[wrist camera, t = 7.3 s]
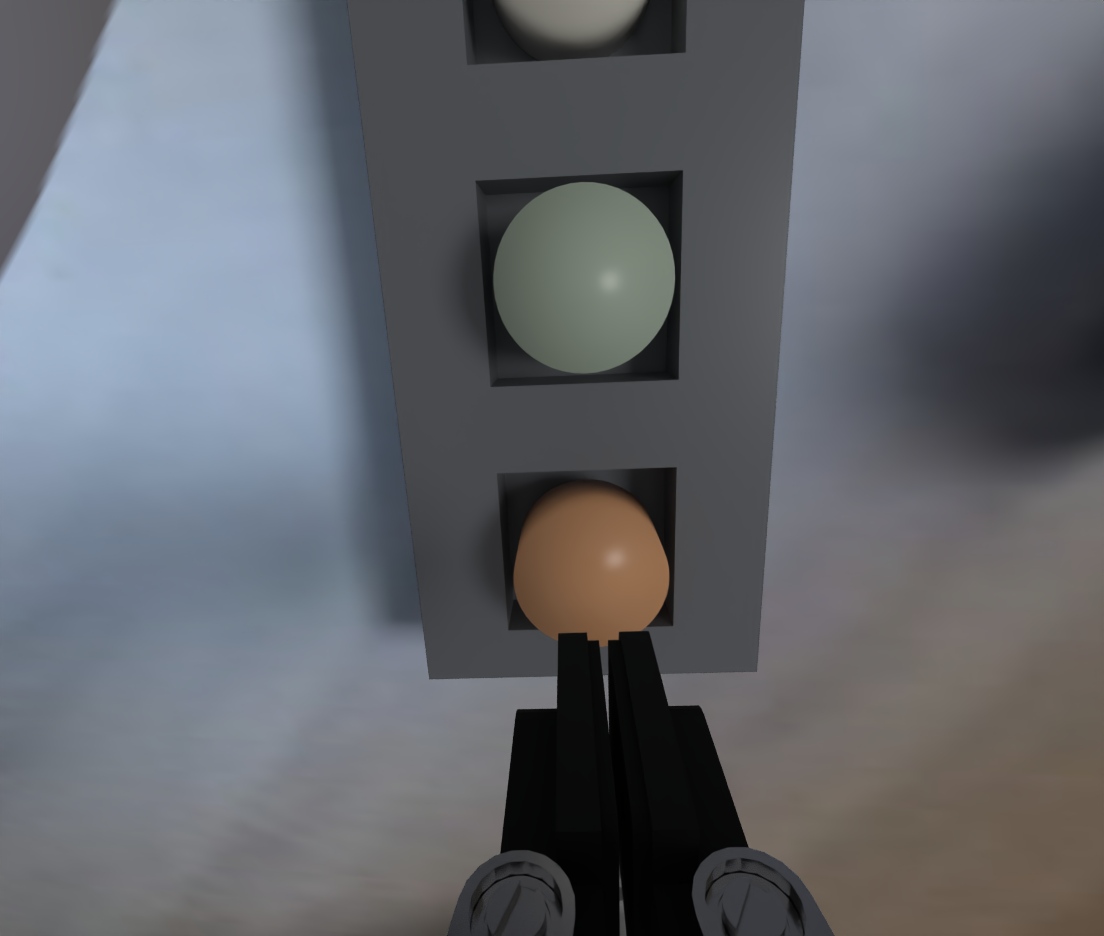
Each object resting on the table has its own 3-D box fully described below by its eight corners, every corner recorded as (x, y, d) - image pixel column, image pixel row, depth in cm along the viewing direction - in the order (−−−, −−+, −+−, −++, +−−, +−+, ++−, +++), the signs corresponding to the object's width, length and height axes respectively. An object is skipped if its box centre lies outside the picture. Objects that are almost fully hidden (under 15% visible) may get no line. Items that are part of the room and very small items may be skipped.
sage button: (657, 360, 16) (673, 369, 14) (508, 366, 17) (499, 376, 14) (659, 197, 15) (677, 176, 13) (498, 205, 15) (486, 186, 13)
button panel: (727, 615, 22) (756, 671, 19) (449, 622, 22) (429, 679, 19) (770, -211, 15) (829, -360, 12) (363, -182, 15) (308, -319, 12)
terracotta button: (654, 601, 19) (668, 645, 16) (523, 605, 19) (518, 649, 16) (656, 476, 17) (670, 503, 15) (515, 481, 18) (508, 509, 15)
